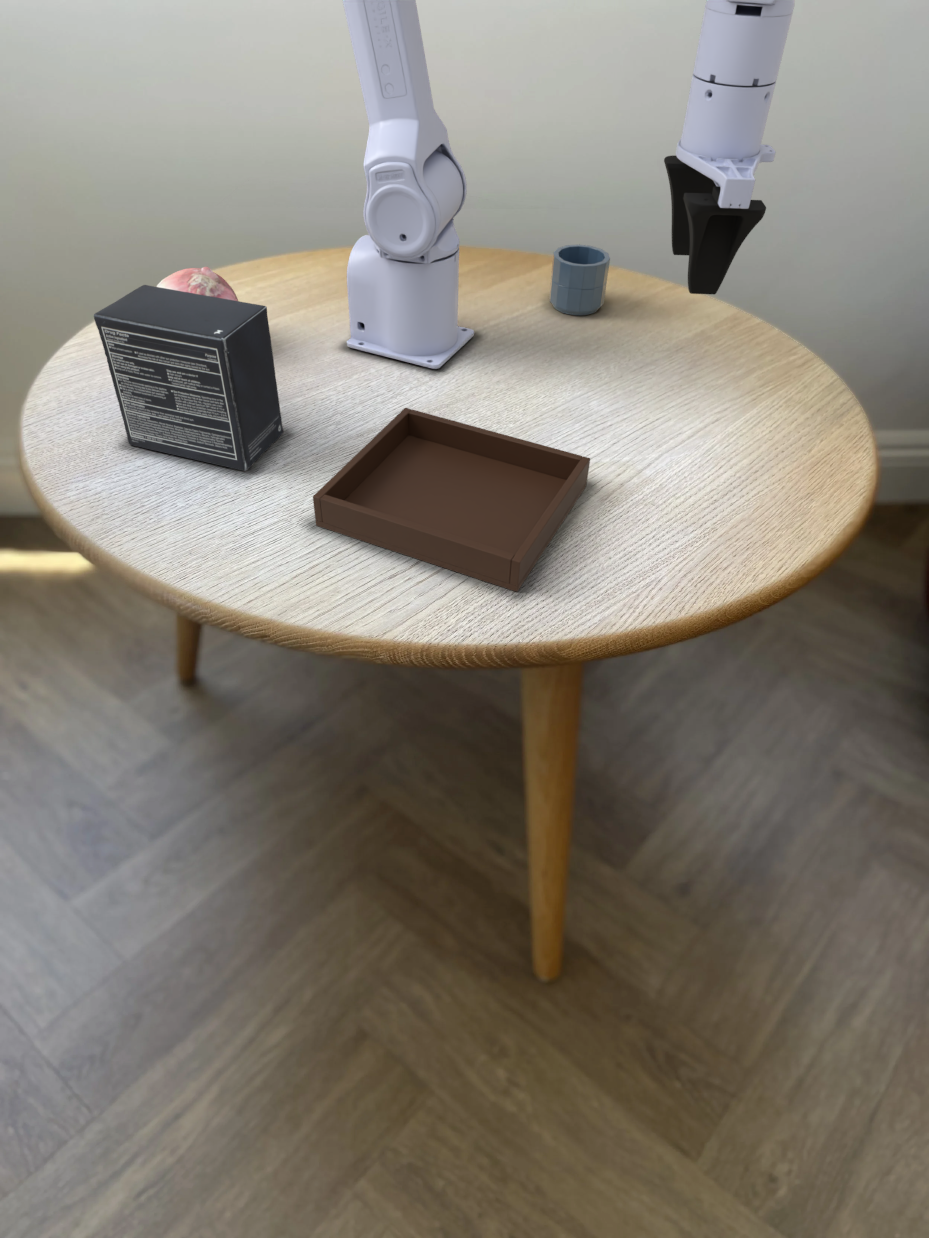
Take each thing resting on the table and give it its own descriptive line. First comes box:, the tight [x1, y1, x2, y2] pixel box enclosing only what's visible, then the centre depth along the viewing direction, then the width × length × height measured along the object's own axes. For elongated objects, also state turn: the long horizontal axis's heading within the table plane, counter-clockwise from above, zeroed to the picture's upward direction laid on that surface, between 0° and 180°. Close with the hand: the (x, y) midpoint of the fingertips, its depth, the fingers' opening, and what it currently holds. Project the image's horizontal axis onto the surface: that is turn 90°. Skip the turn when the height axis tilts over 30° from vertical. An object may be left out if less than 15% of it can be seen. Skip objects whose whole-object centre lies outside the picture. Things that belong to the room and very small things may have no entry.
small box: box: [93, 284, 284, 472], centre depth 64 cm, size 11×6×10 cm, turn 71°
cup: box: [548, 243, 611, 316], centre depth 85 cm, size 5×6×5 cm
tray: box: [312, 407, 591, 593], centre depth 61 cm, size 15×13×2 cm
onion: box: [156, 266, 239, 301], centre depth 76 cm, size 8×8×7 cm
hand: (693, 272), depth 70 cm, fingers open, 7 cm apart
